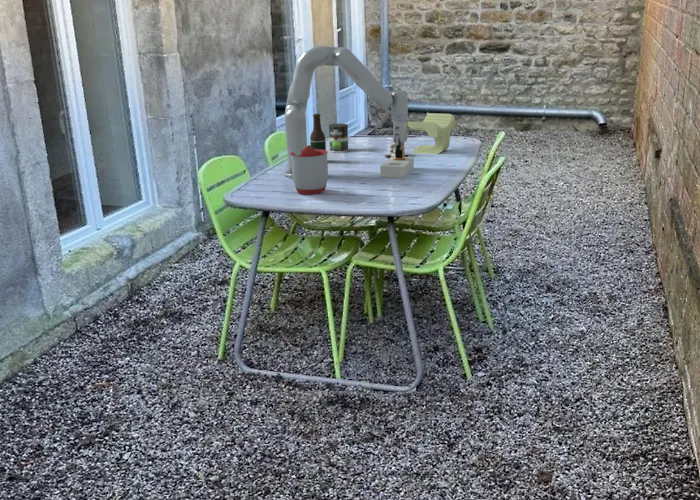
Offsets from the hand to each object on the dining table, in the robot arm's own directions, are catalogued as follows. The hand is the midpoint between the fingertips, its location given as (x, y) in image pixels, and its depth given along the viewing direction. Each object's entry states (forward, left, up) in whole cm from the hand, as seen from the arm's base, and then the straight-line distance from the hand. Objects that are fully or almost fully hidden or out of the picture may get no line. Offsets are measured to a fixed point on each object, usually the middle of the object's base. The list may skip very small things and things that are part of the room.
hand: (399, 156), depth 341 cm
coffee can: (+41, +43, -7) cm, 60 cm away
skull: (+31, +9, -7) cm, 33 cm away
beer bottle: (+12, +45, -7) cm, 47 cm away
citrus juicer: (-48, +29, -7) cm, 56 cm away
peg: (0, 0, -5) cm, 5 cm away
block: (-6, 0, -6) cm, 8 cm away
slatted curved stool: (+46, -7, -7) cm, 47 cm away
